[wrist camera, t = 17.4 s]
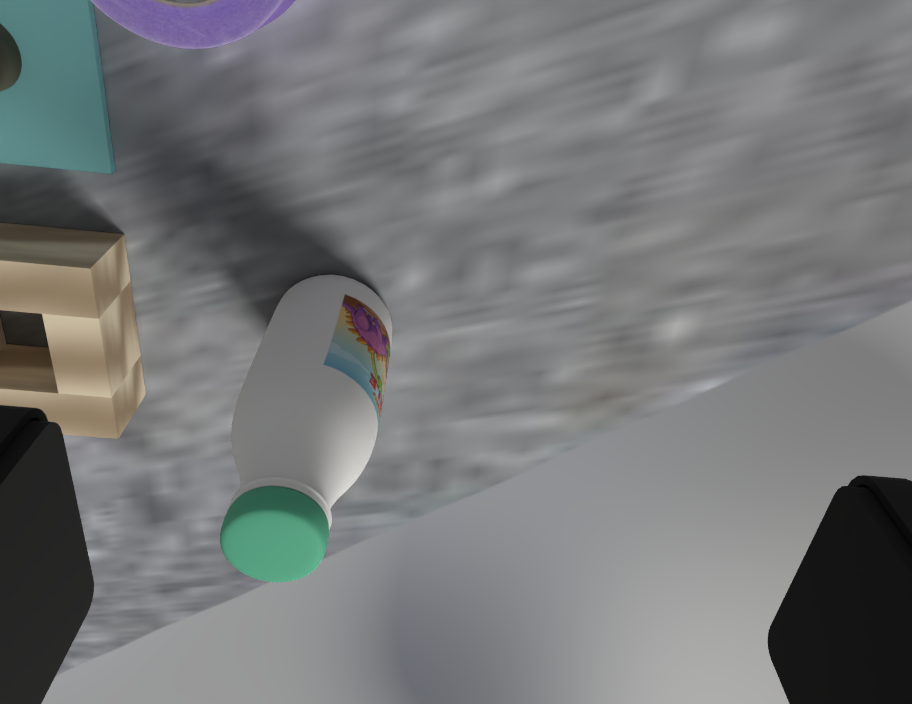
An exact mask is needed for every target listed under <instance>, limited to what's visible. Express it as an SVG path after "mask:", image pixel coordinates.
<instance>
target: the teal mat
mask: <svg viewBox="0 0 912 704" xmlns="http://www.w3.org/2000/svg"><path fill="white" fill-rule="evenodd" d="M0 24H1V25H2V26H4V27H5V28H6V29H7V30H8V32H9V33H10V34H11V35H12V37H13V38H14V40H15V42H16V44H17V46H18V48H19V51H20V54H21V60H22V68H21V73H20V76H19V78H18V80H17V81H16V83H15V84H14V85H13V86H11V87H10V88H8V89H6V90H3V91H1V92H0V163H6V164H16V165H26V166H36V167H46V168H56V169H67V170H77V171H87V172H97V173H107V174H112V173H113V172H115V171H116V170H115V162H114V155H113V147H112V140H111V132H110V125H109V118H108V110H107V103H106V95H105V88H104V80H103V73H102V66H101V58H100V51H99V43H98V36H97V28H96V21H95V14H94V6H93V3H92V2H91V1H90V0H0Z"/></svg>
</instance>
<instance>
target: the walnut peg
mask: <svg viewBox="0 0 912 704" xmlns="http://www.w3.org/2000/svg"><path fill="white" fill-rule="evenodd" d="M21 68H22V60H21V54H20V51H19V48H18V46H17V44H16V42H15V40H14V38H13V37H12V35H11V34H10V33H9V32H8V30H7V29H6V28H5V27H4V26H2V25H1V24H0V92H1V91H3V90H6V89H8V88H10V87H11V86H13V85H14V84H15V83H16V81H17V80H18V78H19V76H20V73H21Z"/></svg>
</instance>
